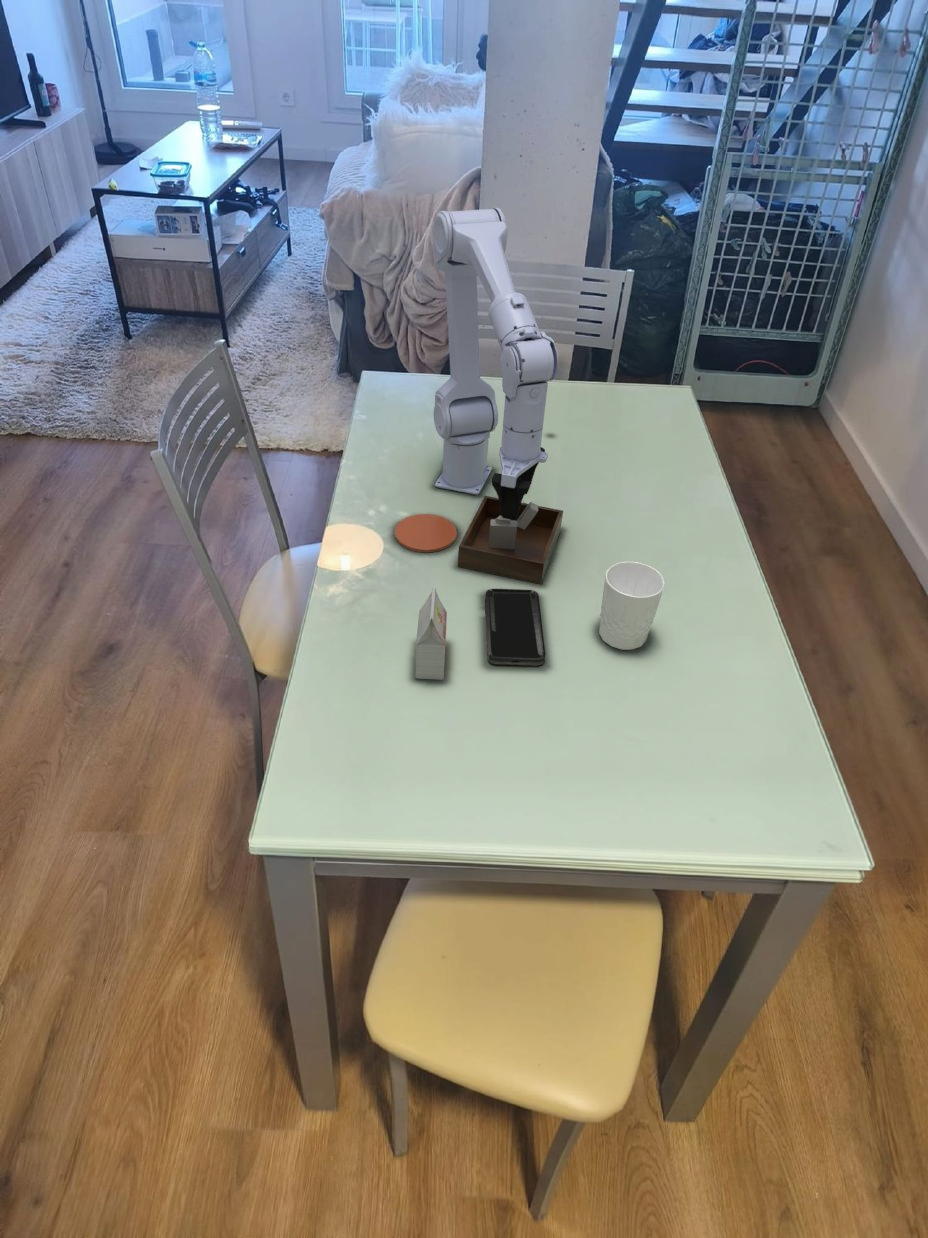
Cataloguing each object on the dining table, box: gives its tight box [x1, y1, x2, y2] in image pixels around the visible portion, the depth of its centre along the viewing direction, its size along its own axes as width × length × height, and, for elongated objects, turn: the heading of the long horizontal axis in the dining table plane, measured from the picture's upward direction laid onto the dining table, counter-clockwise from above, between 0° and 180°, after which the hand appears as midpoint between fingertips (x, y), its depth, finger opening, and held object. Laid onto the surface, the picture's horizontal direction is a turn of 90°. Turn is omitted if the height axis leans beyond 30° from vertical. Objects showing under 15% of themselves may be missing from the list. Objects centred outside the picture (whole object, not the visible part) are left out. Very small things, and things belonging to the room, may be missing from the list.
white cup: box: [598, 560, 666, 651], centre depth 113 cm, size 8×8×10 cm
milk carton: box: [415, 587, 448, 681], centre depth 107 cm, size 4×7×10 cm, turn 179°
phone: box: [484, 588, 546, 667], centre depth 116 cm, size 8×1×15 cm
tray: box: [457, 495, 564, 585], centre depth 130 cm, size 15×13×4 cm
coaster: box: [394, 513, 458, 553], centre depth 133 cm, size 10×10×1 cm
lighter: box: [489, 501, 539, 549], centre depth 128 cm, size 7×2×8 cm, turn 88°
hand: (515, 504), depth 126 cm, fingers open, 7 cm apart
